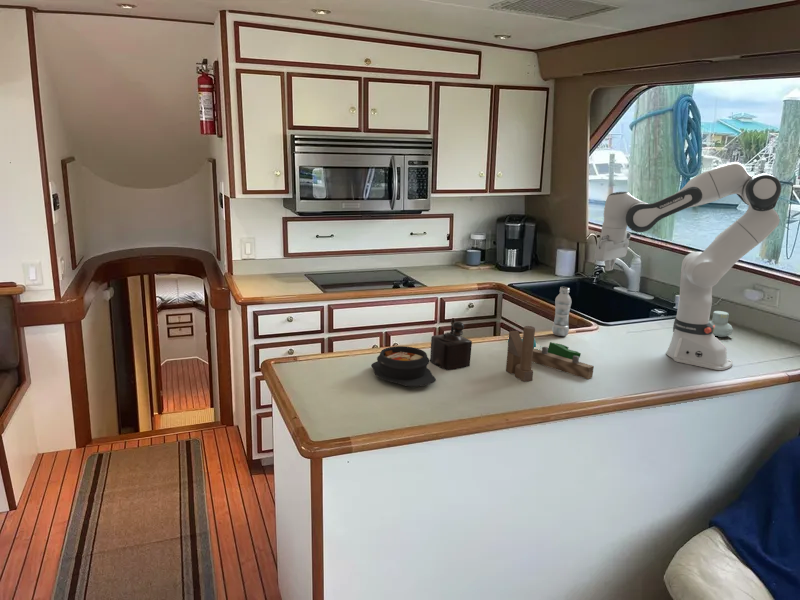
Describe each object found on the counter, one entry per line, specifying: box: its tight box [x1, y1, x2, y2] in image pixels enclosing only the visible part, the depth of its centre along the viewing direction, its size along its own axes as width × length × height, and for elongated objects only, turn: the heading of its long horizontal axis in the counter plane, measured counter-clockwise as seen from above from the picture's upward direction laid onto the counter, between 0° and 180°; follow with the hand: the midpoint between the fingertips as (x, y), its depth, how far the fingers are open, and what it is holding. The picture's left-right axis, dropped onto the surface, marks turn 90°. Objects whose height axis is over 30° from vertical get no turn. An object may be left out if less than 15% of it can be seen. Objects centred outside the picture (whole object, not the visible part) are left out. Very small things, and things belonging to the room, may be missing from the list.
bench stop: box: [532, 346, 594, 380], centre depth 218 cm, size 24×3×6 cm, turn 46°
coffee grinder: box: [429, 317, 473, 371], centre depth 214 cm, size 16×11×18 cm
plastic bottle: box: [551, 286, 572, 337], centre depth 254 cm, size 6×7×20 cm
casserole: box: [371, 345, 437, 388], centre depth 204 cm, size 25×19×8 cm
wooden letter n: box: [505, 325, 536, 383], centre depth 208 cm, size 4×11×18 cm, turn 24°
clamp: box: [548, 341, 582, 360], centre depth 226 cm, size 12×6×9 cm, turn 17°
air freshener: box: [709, 310, 734, 338], centre depth 265 cm, size 11×8×10 cm
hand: (608, 270), depth 243 cm, fingers closed
